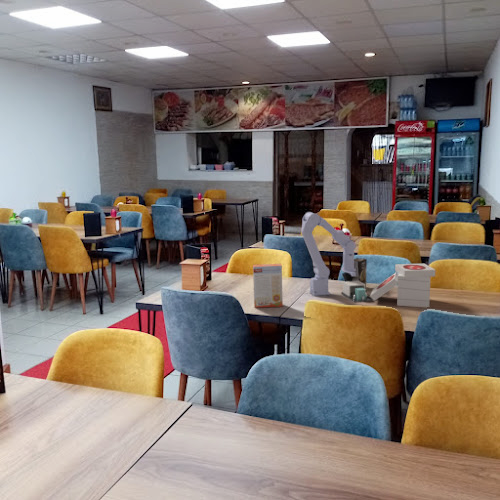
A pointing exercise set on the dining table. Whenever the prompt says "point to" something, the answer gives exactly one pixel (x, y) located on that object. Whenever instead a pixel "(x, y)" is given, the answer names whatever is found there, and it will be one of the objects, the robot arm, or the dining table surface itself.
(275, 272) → the cracker box
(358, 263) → the coffee box
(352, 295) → the pin base
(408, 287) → the pizza box stack
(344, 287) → the housing cover
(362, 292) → the jaw block
